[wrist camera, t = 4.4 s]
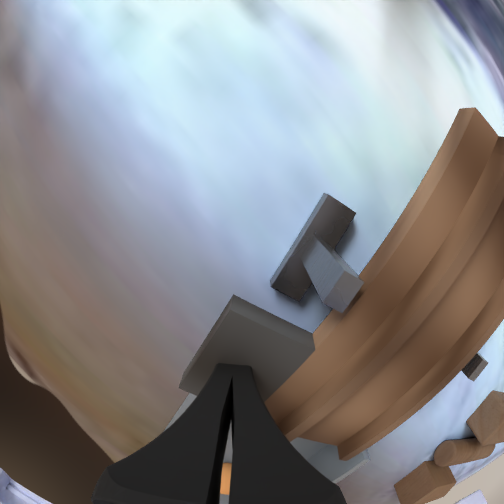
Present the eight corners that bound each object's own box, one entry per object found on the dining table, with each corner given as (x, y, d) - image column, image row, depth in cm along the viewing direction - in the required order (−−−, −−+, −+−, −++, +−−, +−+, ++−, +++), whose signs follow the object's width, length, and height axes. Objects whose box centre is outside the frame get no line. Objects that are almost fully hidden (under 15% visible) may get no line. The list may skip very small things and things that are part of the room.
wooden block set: (514, 419, 12) (547, 416, 14) (487, 386, 18) (529, 395, 20) (398, 517, 17) (468, 495, 19) (387, 483, 22) (456, 472, 24)
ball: (231, 497, 17) (238, 469, 19) (248, 497, 15) (254, 466, 17) (198, 489, 16) (207, 460, 19) (211, 489, 14) (220, 456, 17)
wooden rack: (387, 45, 7) (428, 15, 4) (540, 224, 8) (578, 245, 5) (180, 378, 12) (163, 427, 9) (359, 437, 14) (367, 476, 11)
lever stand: (324, 193, 13) (368, 208, 8) (459, 293, 14) (511, 334, 9) (269, 280, 14) (278, 343, 9) (414, 355, 16) (453, 408, 10)
